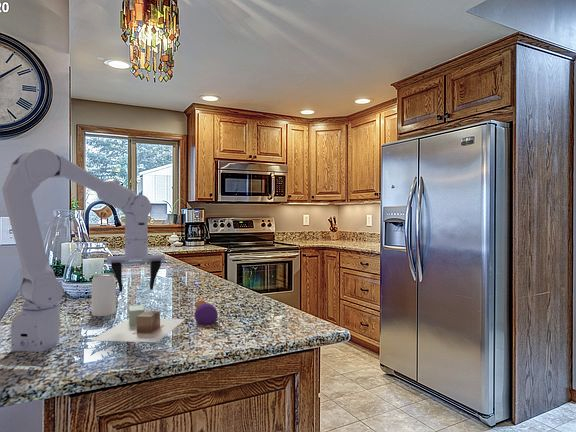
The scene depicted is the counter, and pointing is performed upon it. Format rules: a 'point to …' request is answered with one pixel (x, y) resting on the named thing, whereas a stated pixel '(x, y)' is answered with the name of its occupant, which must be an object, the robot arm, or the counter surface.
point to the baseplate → (130, 334)
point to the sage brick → (134, 314)
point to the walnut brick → (148, 321)
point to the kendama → (205, 313)
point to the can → (103, 294)
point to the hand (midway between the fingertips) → (136, 290)
